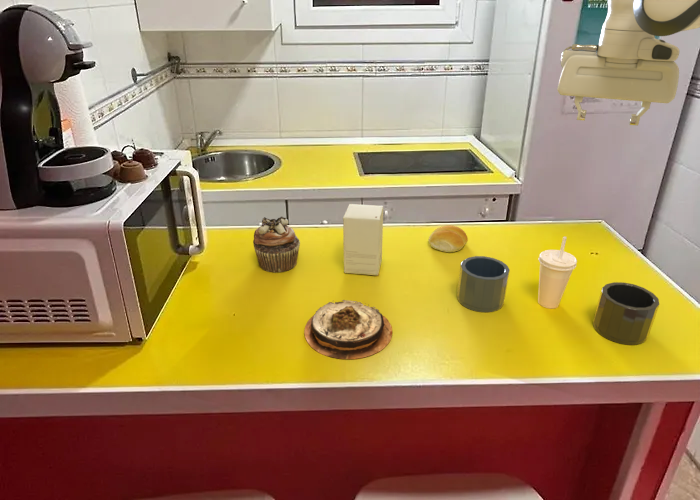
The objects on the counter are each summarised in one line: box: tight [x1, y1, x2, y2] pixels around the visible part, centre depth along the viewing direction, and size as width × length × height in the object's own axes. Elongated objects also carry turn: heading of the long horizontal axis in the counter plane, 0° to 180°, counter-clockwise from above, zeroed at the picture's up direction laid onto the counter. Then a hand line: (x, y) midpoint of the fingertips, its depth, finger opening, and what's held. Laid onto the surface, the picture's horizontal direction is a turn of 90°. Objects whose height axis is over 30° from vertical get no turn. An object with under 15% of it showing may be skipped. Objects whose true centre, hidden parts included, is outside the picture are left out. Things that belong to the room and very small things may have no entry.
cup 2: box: [592, 281, 660, 346], centre depth 88 cm, size 9×9×7 cm
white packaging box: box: [342, 203, 384, 276], centre depth 106 cm, size 7×7×13 cm
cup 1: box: [456, 255, 511, 313], centre depth 96 cm, size 9×9×7 cm
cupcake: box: [252, 216, 301, 274], centre depth 108 cm, size 10×10×10 cm
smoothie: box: [537, 236, 578, 309], centre depth 94 cm, size 6×6×14 cm
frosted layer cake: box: [303, 299, 393, 360], centre depth 88 cm, size 15×15×4 cm
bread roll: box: [428, 224, 469, 253], centre depth 117 cm, size 8×9×4 cm
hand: (606, 122), depth 101 cm, fingers open, 8 cm apart
